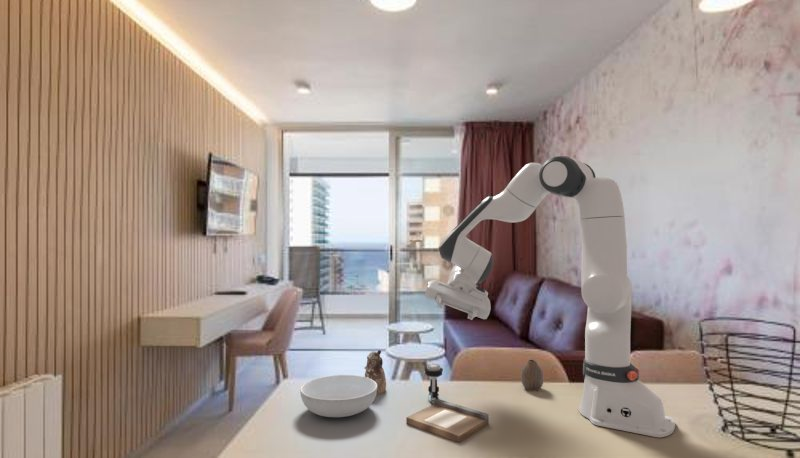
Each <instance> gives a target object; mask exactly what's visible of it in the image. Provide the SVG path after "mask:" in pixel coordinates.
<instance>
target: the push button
mask: <svg viewBox="0 0 800 458" xmlns="http://www.w3.org/2000/svg"><path fill="white" fill-rule="evenodd" d="M443 370H444V369H443V368H442V367H441V365H440V364H438V363H428V365H427V367H425V368H424V374H425V375H426V376H427V377H428V378H430V379H429V380H430V381H429V382H430V383H429V385H428V389H427V391H428V396H427V397H428V399H427V400H430V403H432V404H434V400H436V399H439V398H440V394H439V392H440V387H439V386H438V379H437V378H439V377H441V376H443Z"/></svg>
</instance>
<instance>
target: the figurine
mask: <svg viewBox="0 0 800 458" xmlns="http://www.w3.org/2000/svg"><path fill="white" fill-rule="evenodd" d="M381 353H382V350H380V349H379V350H377V351H371V352H369V354H367V356H366V358H367V359H366V360H367V361H366V366H364V369H365V372H364V377H366V378H369V379H372V380H374V381H375V382H376V383H377V393H376V395H380V394H383V393H385V392H386V390H387V379H386V374H385V370H384V367H383V363H384V362H383V358H382V357H381V356H380V355H381Z"/></svg>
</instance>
